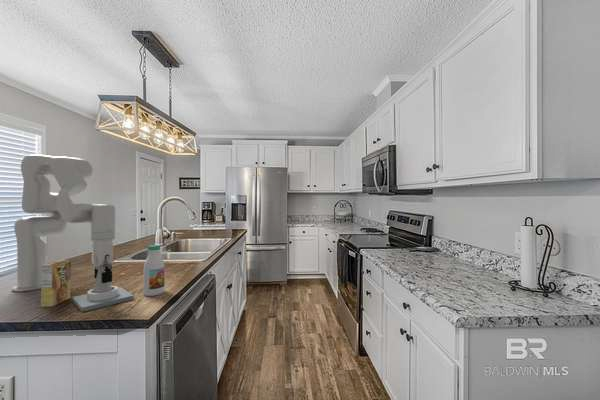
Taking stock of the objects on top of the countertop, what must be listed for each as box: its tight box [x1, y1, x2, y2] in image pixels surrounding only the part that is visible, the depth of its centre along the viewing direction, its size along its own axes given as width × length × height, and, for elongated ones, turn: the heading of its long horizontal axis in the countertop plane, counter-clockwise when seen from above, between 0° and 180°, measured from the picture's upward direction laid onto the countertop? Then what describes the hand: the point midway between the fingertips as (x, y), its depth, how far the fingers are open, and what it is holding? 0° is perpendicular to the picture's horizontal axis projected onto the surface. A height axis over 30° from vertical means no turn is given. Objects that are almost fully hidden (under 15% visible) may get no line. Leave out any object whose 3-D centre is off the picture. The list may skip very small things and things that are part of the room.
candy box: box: [40, 259, 72, 308], centre depth 102 cm, size 9×4×15 cm, turn 6°
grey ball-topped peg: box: [93, 266, 112, 293], centre depth 105 cm, size 6×6×13 cm
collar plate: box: [71, 285, 134, 313], centre depth 105 cm, size 16×16×4 cm
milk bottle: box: [143, 244, 166, 297], centre depth 112 cm, size 8×8×20 cm
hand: (103, 280), depth 105 cm, fingers open, 9 cm apart
